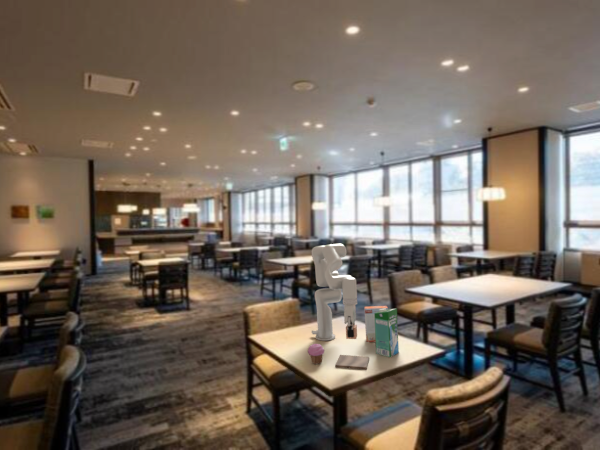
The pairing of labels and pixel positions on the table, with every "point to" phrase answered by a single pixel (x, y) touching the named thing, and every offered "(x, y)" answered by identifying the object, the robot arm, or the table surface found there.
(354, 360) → the serving board
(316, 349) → the cupcake
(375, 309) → the cracker box
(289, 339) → the table surface
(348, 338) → the terracotta block
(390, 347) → the milk carton
